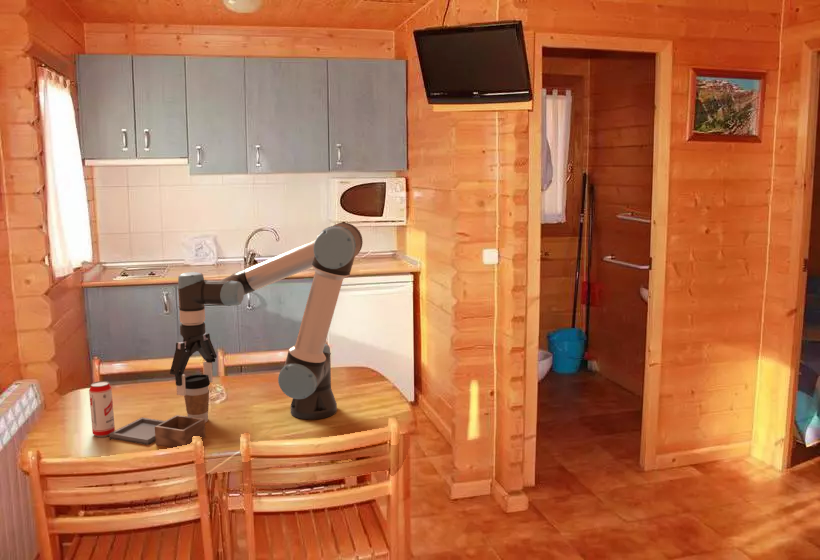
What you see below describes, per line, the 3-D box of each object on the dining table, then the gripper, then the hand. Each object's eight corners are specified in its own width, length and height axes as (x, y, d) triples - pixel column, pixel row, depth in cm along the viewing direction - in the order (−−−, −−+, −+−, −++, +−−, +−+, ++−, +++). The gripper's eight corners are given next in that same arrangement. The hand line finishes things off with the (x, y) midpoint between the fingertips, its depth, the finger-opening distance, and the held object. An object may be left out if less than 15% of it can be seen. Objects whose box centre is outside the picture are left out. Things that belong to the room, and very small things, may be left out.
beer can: (118, 429, 224) (114, 380, 221) (110, 437, 218) (106, 386, 215) (97, 430, 224) (93, 380, 221) (89, 438, 218) (85, 387, 215)
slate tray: (178, 429, 225) (178, 423, 224) (147, 446, 212) (147, 439, 211) (142, 423, 230) (141, 417, 229) (109, 439, 217) (109, 433, 216)
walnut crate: (205, 438, 218) (204, 419, 217) (184, 450, 209) (183, 431, 207) (178, 433, 221) (176, 414, 220) (155, 446, 212) (154, 426, 211)
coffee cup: (204, 428, 226) (201, 381, 223) (179, 426, 227) (176, 380, 225) (216, 418, 234) (214, 373, 231) (192, 416, 235) (189, 372, 233)
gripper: (206, 313, 237) (209, 375, 241) (155, 330, 214) (158, 399, 218) (226, 315, 235) (228, 378, 239) (176, 333, 212) (179, 402, 216)
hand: (195, 388), depth 228 cm, fingers open, 13 cm apart
